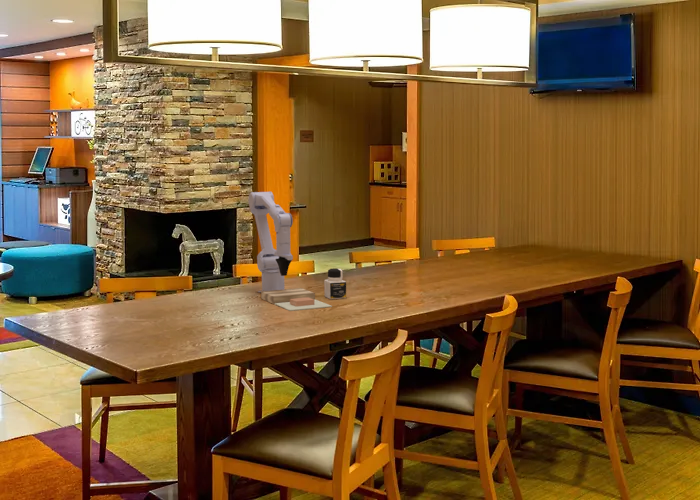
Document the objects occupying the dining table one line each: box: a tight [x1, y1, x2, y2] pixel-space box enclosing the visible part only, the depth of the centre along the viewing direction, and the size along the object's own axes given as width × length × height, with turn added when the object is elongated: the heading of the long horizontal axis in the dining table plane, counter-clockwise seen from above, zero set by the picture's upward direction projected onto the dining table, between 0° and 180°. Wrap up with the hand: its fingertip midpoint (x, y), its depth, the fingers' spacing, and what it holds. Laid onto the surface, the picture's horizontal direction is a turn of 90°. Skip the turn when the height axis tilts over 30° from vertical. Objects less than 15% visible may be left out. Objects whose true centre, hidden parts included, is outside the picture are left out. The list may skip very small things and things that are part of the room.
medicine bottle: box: [323, 267, 347, 300], centre depth 375 cm, size 7×7×12 cm
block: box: [290, 297, 314, 306], centre depth 358 cm, size 6×8×2 cm
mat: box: [273, 299, 333, 312], centre depth 358 cm, size 16×18×1 cm
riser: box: [260, 287, 316, 305], centre depth 371 cm, size 14×18×3 cm
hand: (283, 275), depth 374 cm, fingers closed
